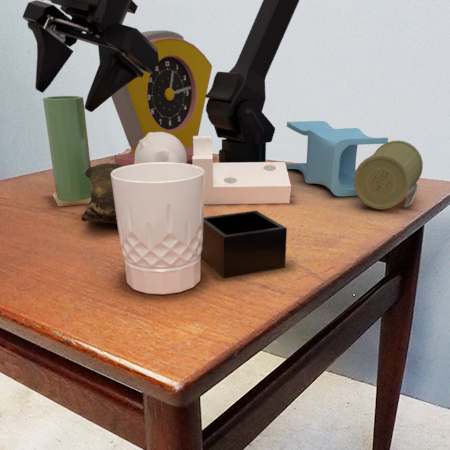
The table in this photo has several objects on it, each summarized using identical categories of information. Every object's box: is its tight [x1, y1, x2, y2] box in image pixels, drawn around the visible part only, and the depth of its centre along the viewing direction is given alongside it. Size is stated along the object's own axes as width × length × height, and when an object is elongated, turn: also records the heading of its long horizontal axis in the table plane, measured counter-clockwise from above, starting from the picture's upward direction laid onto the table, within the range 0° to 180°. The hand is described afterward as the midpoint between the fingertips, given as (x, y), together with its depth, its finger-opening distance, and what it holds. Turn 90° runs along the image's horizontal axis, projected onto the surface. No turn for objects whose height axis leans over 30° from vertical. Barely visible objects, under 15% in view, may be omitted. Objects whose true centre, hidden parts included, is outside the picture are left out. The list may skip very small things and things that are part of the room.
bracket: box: [191, 135, 292, 205], centre depth 74 cm, size 13×7×8 cm, turn 92°
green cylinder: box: [42, 95, 93, 201], centre depth 73 cm, size 5×5×13 cm
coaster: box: [52, 193, 91, 208], centre depth 76 cm, size 6×6×1 cm
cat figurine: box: [134, 132, 188, 164], centre depth 80 cm, size 9×11×12 cm
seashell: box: [80, 162, 123, 225], centre depth 67 cm, size 16×9×7 cm, turn 3°
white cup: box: [111, 162, 205, 295], centre depth 48 cm, size 8×8×10 cm
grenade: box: [354, 140, 424, 210], centre depth 74 cm, size 8×7×15 cm
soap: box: [114, 148, 131, 157], centre depth 107 cm, size 10×4×1 cm, turn 171°
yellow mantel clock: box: [110, 30, 213, 166], centre depth 95 cm, size 22×9×22 cm, turn 141°
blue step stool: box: [285, 120, 389, 197], centre depth 84 cm, size 8×8×20 cm
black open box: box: [201, 210, 288, 278], centre depth 53 cm, size 6×6×4 cm
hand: (62, 100), depth 68 cm, fingers open, 9 cm apart
